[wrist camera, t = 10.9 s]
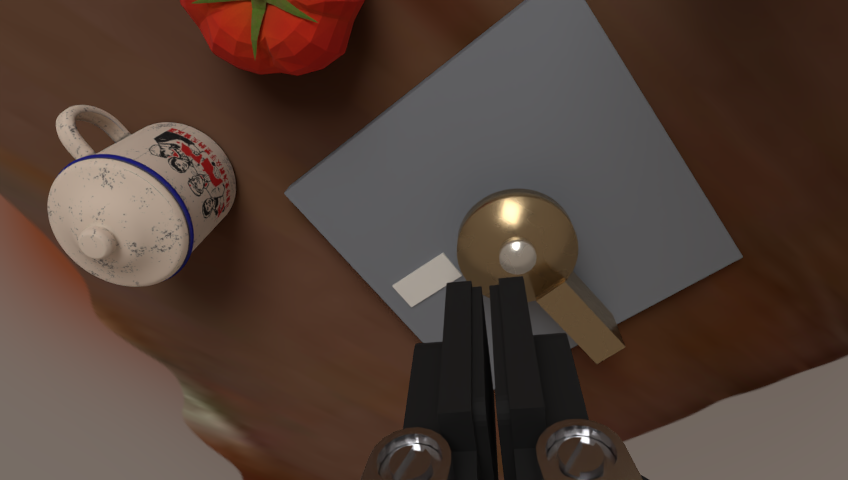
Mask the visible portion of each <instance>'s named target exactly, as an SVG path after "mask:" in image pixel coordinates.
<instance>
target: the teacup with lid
mask: <svg viewBox="0 0 848 480" xmlns="http://www.w3.org/2000/svg"><path fill="white" fill-rule="evenodd" d="M75 120H82V121H86V122H90V123H92V124H94V125H96V126H98V127H99V128H101V129H102V130H103V131H105V132H106V133H107V134H108V135H109V136H110V137H111V138H112V139H113V141H114V142H115V144H113V145H111V146H110V147H108V148H106V149H104V150H102V151H100V152H98V153H95V152H94V151H93V149H92V148H91V147H90V146H89V145H88V144H87V143H86V141H85V140H84V139H83V138H82V136H81V135H80V133H79V132H78V130H77V127H76V122H75ZM56 130H57V134H58V136H59V138H60V140H61V142H62V144H63V145H64V146H65V148H66V149H67V150H68V151H69V153H70V154H71V155H72V156H73V157H74V158H75V159H76V160H75V161H73V162H71V163H70V164H68V165H67V166H66V167H65V168H64V169H63V170H62V171H61V172H60V173H59V174H58V176H57V177H56V179H55V181H54V183H53V184H52V187H51V189H50V193H49V197H48V217H49V221H50V225H51V228H52V230H53V232H54V235H55V237H56V239H57V240H58V242H59V244H60V245H61V247H62V248H63V249H64V251H65V252H66V253H67V254H68V255H69V256H70V257H71V258H72V259H73V260H74V261H75V262H76V263H77V264H78V265H79V266H81V267H82V268H83V269H85V270H86V271H88V272H89V273H91V274H93V275H94V276H96V277H98V278H101V279H103V280H105V281H108V282H111V283H114V284H118V285H123V286H133V287H139V286H149V285H153V284H157V283H160V282H162V281H165V280H167V279H169V278H171V277H173V276H174V275H176V274H177V273H178V272H179V271H180V270H181V269H182V268H183V267H184V266H185V264H186V263H187V261H188V259H189V257H190V255H191V253H192V252H193V250H194V249H195V248H196V247H197V246H198V245H199V244H200V243H201V242H202V241H203V240H204V239H205V238H206V236H207V235H208V234H209V233H210V232H211V231H212V230H213V229H214V228H215V227H216V226H217V225H218V223H219V222H220V221H221V220H222V219H223V218H224V217H225V216H226V215H227V213H228V212H229V211H230V209H231V207H232V205H233V202H234V199H235V194H236V180H235V175H234V171H233V168H232V166H231V163H230V161H229V160H228V158H227V156H226V155H225V153H224V152H223V150H222V149H221V148H220V147H219V146H218V145H217V144H216V143H215V142H214V141H213V140H212V139H211V138H210V137H208V136H207V135H205V134H204V133H202V132H201V131H199V130H197V129H195V128H192V127H190V126H187V125H184V124H179V123H172V122H164V123H157V124H153V125H149V126H147V127H145V128H143V129H141V130H139V131H137V132H136V133H134V134H130V133H129V131H128V130H127V129H126V128H125V127H124V126H123V125H122V124H121V123H120V122H119V121H118V120H117V119H116V118H115V117H113V116H112V115H111V114H109V113H107V112H106V111H104V110H101V109H99V108H96V107H93V106H88V105H76V106H72V107H69V108H68V109H66V110H65V111H63V112H62V113H61V114H60V115H59V116H58V118H57V120H56Z"/></svg>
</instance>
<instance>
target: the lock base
mask: <svg viewBox="0 0 848 480" xmlns="http://www.w3.org/2000/svg"><path fill="white" fill-rule="evenodd" d="M506 189H530V190H534V191H538V192H540V193H543V194H545V195H547V196H549V197H551V198H552V199H554V200H555V201H556V202H558V203H559V204H560V205H561V206H562V207H563V208H564V210H565V211H566V212H567V214H568V216H569V218H570V219H571V222H572V225H573V227H574V230H575V233H576V235H577V240H578V257H577V261H576V265H575V267H574V269H573V272H574V273H575V274H576V275H577V276H578V277H579V278H580V279H581V280H582V281H583V283H584V284H585V285H586V286H587V287H588V288H589V289H590V290H591V291H592V292H593V293H594V295H595V296H596V297H597V298H598V299H599V300H600V301H601V302H602V303H603V304H604V305H605V307H606V308H607V309H608V310H609V311H610V312H611V313H612V314H613V316H614V319H615V321H616V324H618V323H620V322H622V321H624V320H626V319H628V318H629V317H631V316H633V315H635V314H637V313H639V312H641V311H643V310H644V309H646V308H648V307H650V306H652V305H654V304H656V303H658V302H660V301H661V300H663V299H665V298H667V297H669V296H671V295H673V294H675V293H677V292H678V291H680V290H682V289H684V288H686V287H688V286H690V285H692V284H693V283H695V282H697V281H699V280H701V279H703V278H705V277H707V276H709V275H710V274H712V273H714V272H716V271H718V270H720V269H722V268H724V267H725V266H727V265H729V264H731V263H733V262H735V261H737V260H739V259H741V258H742V257H743V256H742V254H741V253H740V251H739V250H738V248H737V246H736V245H735V243H734V241H733V240H732V238H731V237H730V235H729V233H728V232H727V230H726V228H725V227H724V225H723V224H722V222H721V220H720V219H719V217H718V215H717V214H716V212H715V211H714V209H713V207H712V206H711V204H710V202H709V201H708V199H707V198H706V196H705V194H704V193H703V191H702V190H701V188H700V186H699V185H698V183H697V181H696V180H695V178H694V177H693V175H692V173H691V172H690V170H689V168H688V167H687V165H686V164H685V162H684V160H683V159H682V157H681V155H680V154H679V152H678V151H677V149H676V147H675V146H674V144H673V142H672V141H671V139H670V138H669V136H668V134H667V133H666V131H665V129H664V128H663V126H662V125H661V123H660V121H659V120H658V118H657V116H656V115H655V113H654V112H653V110H652V108H651V107H650V105H649V103H648V102H647V100H646V99H645V97H644V95H643V94H642V92H641V90H640V89H639V87H638V86H637V84H636V82H635V81H634V79H633V77H632V76H631V74H630V73H629V71H628V69H627V68H626V66H625V65H624V63H623V61H622V60H621V58H620V56H619V55H618V53H617V52H616V50H615V48H614V47H613V45H612V43H611V42H610V40H609V39H608V37H607V35H606V34H605V32H604V30H603V29H602V27H601V26H600V24H599V22H598V21H597V19H596V17H595V16H594V14H593V13H592V11H591V9H590V8H589V6H588V4H587V3H586V1H585V0H524V1H523V2H522V3H521V4H519V5H518V6H517V7H516V8H514V9H513V10H512V11H511V12H509V13H508V14H507V15H505V16H504V17H503V18H502V19H500V20H499V21H498V22H497V23H495V24H494V25H493V26H492V27H490V28H489V29H488V30H486V31H485V32H484V33H483V34H481V35H480V36H479V37H478V38H476V39H475V40H474V41H473V42H471V43H470V44H469V45H467V46H466V47H465V48H464V49H462V50H461V51H460V52H459V53H457V54H456V55H455V56H454V57H452V58H451V59H450V60H449V61H447V62H446V63H445V64H443V65H442V66H441V67H440V68H438V69H437V70H436V71H435V72H433V73H432V74H431V75H430V76H428V77H427V78H426V79H424V80H423V81H422V82H421V83H419V84H418V85H417V86H416V87H414V88H413V89H412V90H411V91H409V92H408V93H407V94H405V95H404V96H403V97H402V98H400V99H399V100H398V101H397V102H395V103H394V104H393V105H392V106H390V107H389V108H388V109H386V110H385V111H384V112H383V113H381V114H380V115H379V116H378V117H376V118H375V119H374V120H373V121H371V122H370V123H369V124H367V125H366V126H365V127H364V128H362V129H361V130H360V131H359V132H357V133H356V134H355V135H354V136H352V137H351V138H350V139H348V140H347V141H346V142H345V143H343V144H342V145H341V146H340V147H338V148H337V149H336V150H335V151H333V152H332V153H331V154H329V155H328V156H327V157H326V158H324V159H323V160H322V161H321V162H319V163H318V164H317V165H316V166H314V167H313V168H312V169H310V170H309V171H308V172H307V173H305V174H304V175H303V176H302V177H300V178H299V179H298V180H297V181H295V182H294V183H293V184H291V185H290V186H289V187H288V189H287V190H286V191H285V193H284V194H285V195H286V196H287V197H288V198H289V199H290V200H291V201H292V203H293V204H294V205H295V206H296V207H297V208H298V209H299V210H300V211H301V212H302V213H303V214H304V215H305V217H306V218H307V219H308V220H309V221H310V222H311V223H312V224H313V225H314V226H315V227H316V228H317V229H318V230H319V232H320V233H321V234H322V235H323V236H324V237H325V238H326V239H327V240H328V241H329V242H330V243H331V244H332V245H333V247H334V248H335V249H336V250H337V251H338V252H339V253H340V254H341V255H342V256H343V257H344V258H345V259H346V261H347V262H348V263H349V264H350V265H351V266H352V267H353V268H354V269H355V270H356V271H357V272H358V273H359V274H360V276H361V277H362V278H363V279H364V280H365V281H366V282H367V283H368V284H369V285H370V286H371V287H372V288H373V290H374V291H375V292H376V293H377V294H378V295H379V296H380V297H381V298H382V299H383V300H384V301H385V302H386V303H387V305H388V306H389V307H390V308H391V309H392V310H393V311H394V312H395V313H396V314H397V315H398V316H399V317H400V318H401V320H402V321H403V322H404V323H405V324H406V325H407V326H408V327H409V328H410V329H411V330H412V331H413V332H414V334H415V335H416V336H417V337H418V338H419V339H420V340H421V341H422V342H423V343H430V342H442V340H443V326H444V312H445V298H446V284H447V283H449V282H460V281H466V279H465V278H464V276H463V274H462V272H461V270H460V268H459V264H458V259H457V238H458V232H459V228H460V225H461V223H462V221H463V219H464V217H465V216H466V214H467V213H468V211H469V210H470V209H471V208H472V207H473V206H474V205H475V204H476V203H477V202H479V201H480V200H482V199H483V198H485V197H487V196H488V195H490V194H493V193H495V192H498V191H502V190H506ZM483 303H484V311H485V320H486V329H487V337H488V346H489V355H490V364H491V372H492V381H493V390H494V389H495V377H494V360H493V342H492V325H491V308H490V298H488V297H486V296H484V295H483ZM528 308H529V314H530V320H531V326H532V333H533V335H540V334H554V333H566V332H565V331H564V330H563V329H562V328H561V327H560V326H559V325H558V323H557V322H556V321H555V320H554V319H553V318H552V317H551V316H550V315H549V314H548V313H547V312H546V311H545V310H544V309H543V308H542V307H541V306H540V305H539V304H538V303H537V302H536V300H535V301H531V302H528ZM566 334H567V333H566ZM567 337H568V340H569V344H570V348H573V347H575V346H577V345H578V344H577V343H576V342H575V341H574V340H573V339H572V338H571V337H570V336H569V335H568V334H567Z"/></svg>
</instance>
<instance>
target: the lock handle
mask: <svg viewBox="0 0 848 480" xmlns="http://www.w3.org/2000/svg"><path fill="white" fill-rule="evenodd" d="M577 257H578V240H577V235H576V233H575V230H574V227H573V225H572V222H571V219H570V218H569V216H568V214H567V212H566V211H565V210H564V208H563V207H562V206H561V205H560V204H559V203H558V202H556V201H555V200H554V199H552V198H551V197H549V196H547V195H545V194H543V193H540V192H538V191H534V190H530V189H506V190H502V191H498V192H495V193H493V194H490V195H488V196H487V197H485V198H483V199H482V200H480V201H479V202H477V203H476V204H475V205H474V206H473V207H472V208H471V209H470V210H469V211H468V213H467V214H466V216H465V217H464V219H463V221H462V223H461V225H460V228H459V232H458V238H457V259H458V264H459V268H460V270H461V272H462V274H463V276H464V278H465V279H466V281H471V282H472V287H478V286H481V287H482V294H483V295H484V296H486V297H488V298H490V290H489V286H490V285H499V279H498V278H507V277H519V276H523V278H524V284H525V290H526V296H527V302H531V301H535V300H536V302H537V303H538V304H539V305H540V306H541V307H542V308H543V309H544V310H545V311H546V312H547V313H548V314H549V315H550V316H551V317H552V318H553V319H554V320H555V321H556V322H557V323H558V325H559V326H560V327H561V328H562V329H563V330H564V331H565V332H566V333H567V334H568V335H569V336H570V337H571V338H572V339H573V340H574V341H575V342H576V343H577V344H578V345H579V346H580V347H581V348H582V349H583V350H584V351H585V352H586V353H587V354H588V356H589V357H590V358H591V359H592V360H593V361H594V362H595V363H596V364H598V363H600V362H601V361H603V360H605V359H606V358H608V357H610V356H611V355H613V354H615V353H616V352H618V351H620V350H621V349H623V348H625V344H624V342H623V339H622V337H621V334H620V332H619V329H618V326H617V324H616V321H615V319H614V316H613V314H612V313H611V312H610V311H609V310H608V309H607V308H606V307H605V305H604V304H603V303H602V302H601V301H600V300H599V299H598V298H597V297H596V296H595V295H594V293H593V292H592V291H591V290H590V289H589V288H588V287H587V286H586V285H585V284H584V283H583V281H582V280H581V279H580V278H579V277H578V276H577V275H576V274H575V273H574V272H573V269H574V267H575V265H576V261H577Z"/></svg>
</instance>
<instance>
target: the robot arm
mask: <svg viewBox="0 0 848 480" xmlns="http://www.w3.org/2000/svg"><path fill="white" fill-rule="evenodd" d="M498 279H499V285H490V286H489V290H490V308H491V325H492V342H493V360H494V377H495V394H496V408H497V419H498V429H499V437H500V446H501V455H502V464H503V472H504V480H648V479H647V478H645V477H643V476H642V475H640V473H639V471H638V470H637V468H636V466H635V464H634V462H633V460H632V458H631V456H630V454H629V452H628V450H627V448H626V446H625V444H624V443H623V442H622V440H621V439H620V438H619V436H618V435H617V434H616V433H615V432H613V431H612V430H611V429H609V428H608V427H607V426H604V425H602V424H600V423H597V422H595V421H590V420H589V419H588V415H587V411H586V407H585V403H584V399H583V396H582V392H581V388H580V384H579V380H578V376H577V372H576V368H575V364H574V360H573V356H572V352H571V348H570V344H569V340H568V337H567V334H566V333H554V334H540V335H533V333H532V326H531V320H530V314H529V308H528V302H527V296H526V290H525V284H524V278H523V276H519V277H507V278H498ZM360 480H498V464H497V445H496V427H495V408H494V392H493V381H492V372H491V364H490V355H489V346H488V337H487V329H486V320H485V311H484V303H483V294H482V287H481V286H478V287H472V282H471V281H460V282H449V283H447V284H446V298H445V312H444V326H443V340H442V342H430V343H417V344H416V345H415V348H414V355H413V362H412V369H411V376H410V383H409V391H408V398H407V405H406V412H405V419H404V426H403V429H402V430H398V431H395V432H393V433H391V434H390V435H388V436H386V437H384V438H383V439H382V440H381V441H380V442H379V443H378V444H377V445H376V446H375V447H374V449H373V451H372V452H371V454H370V456H369V458H368V461H367V464H366V466H365V469H364V472H363V474H362V477H361V479H360Z"/></svg>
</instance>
